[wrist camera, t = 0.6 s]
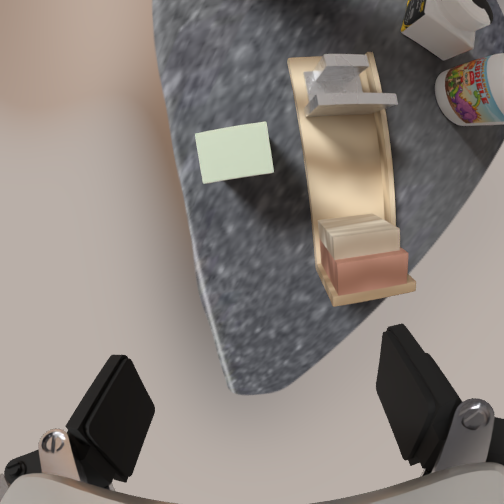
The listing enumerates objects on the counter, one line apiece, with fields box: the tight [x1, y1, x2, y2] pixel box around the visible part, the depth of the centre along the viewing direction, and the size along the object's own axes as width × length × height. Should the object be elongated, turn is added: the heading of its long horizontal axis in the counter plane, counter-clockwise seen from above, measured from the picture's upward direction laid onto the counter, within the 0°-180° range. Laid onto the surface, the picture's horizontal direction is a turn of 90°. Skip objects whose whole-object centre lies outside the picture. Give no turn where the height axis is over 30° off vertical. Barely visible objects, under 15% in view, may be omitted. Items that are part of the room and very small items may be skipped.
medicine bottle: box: [401, 0, 493, 60], centre depth 17 cm, size 7×7×12 cm
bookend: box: [303, 54, 398, 117], centre depth 22 cm, size 5×7×7 cm
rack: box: [287, 52, 416, 307], centre depth 25 cm, size 24×9×9 cm, turn 9°
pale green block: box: [195, 122, 274, 183], centre depth 25 cm, size 4×6×9 cm
